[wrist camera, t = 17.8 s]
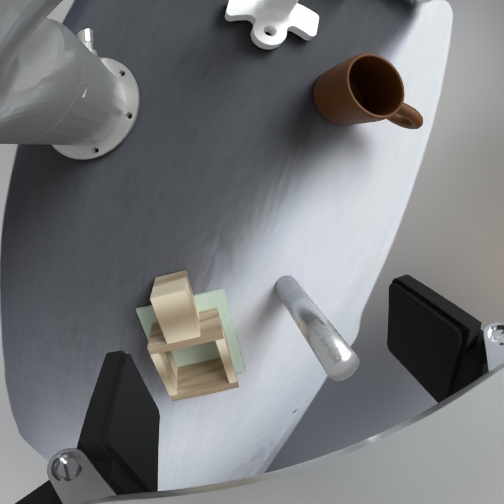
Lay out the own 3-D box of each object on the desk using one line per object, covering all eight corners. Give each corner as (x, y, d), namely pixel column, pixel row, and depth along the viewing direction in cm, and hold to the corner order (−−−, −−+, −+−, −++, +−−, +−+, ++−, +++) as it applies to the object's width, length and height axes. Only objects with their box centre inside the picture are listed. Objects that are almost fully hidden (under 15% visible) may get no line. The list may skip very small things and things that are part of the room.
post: (273, 278, 41) (326, 360, 24) (295, 273, 41) (359, 348, 24) (277, 298, 42) (328, 385, 25) (298, 293, 42) (359, 374, 25)
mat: (136, 308, 38) (135, 309, 38) (224, 287, 40) (224, 288, 39) (169, 386, 43) (169, 387, 43) (245, 369, 44) (246, 371, 44)
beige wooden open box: (137, 282, 37) (128, 303, 31) (205, 265, 38) (208, 284, 32) (173, 373, 42) (172, 401, 36) (232, 360, 43) (238, 386, 37)
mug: (394, 105, 36) (438, 99, 28) (377, 151, 38) (421, 153, 29) (322, 60, 33) (358, 38, 24) (302, 108, 35) (334, 96, 26)
